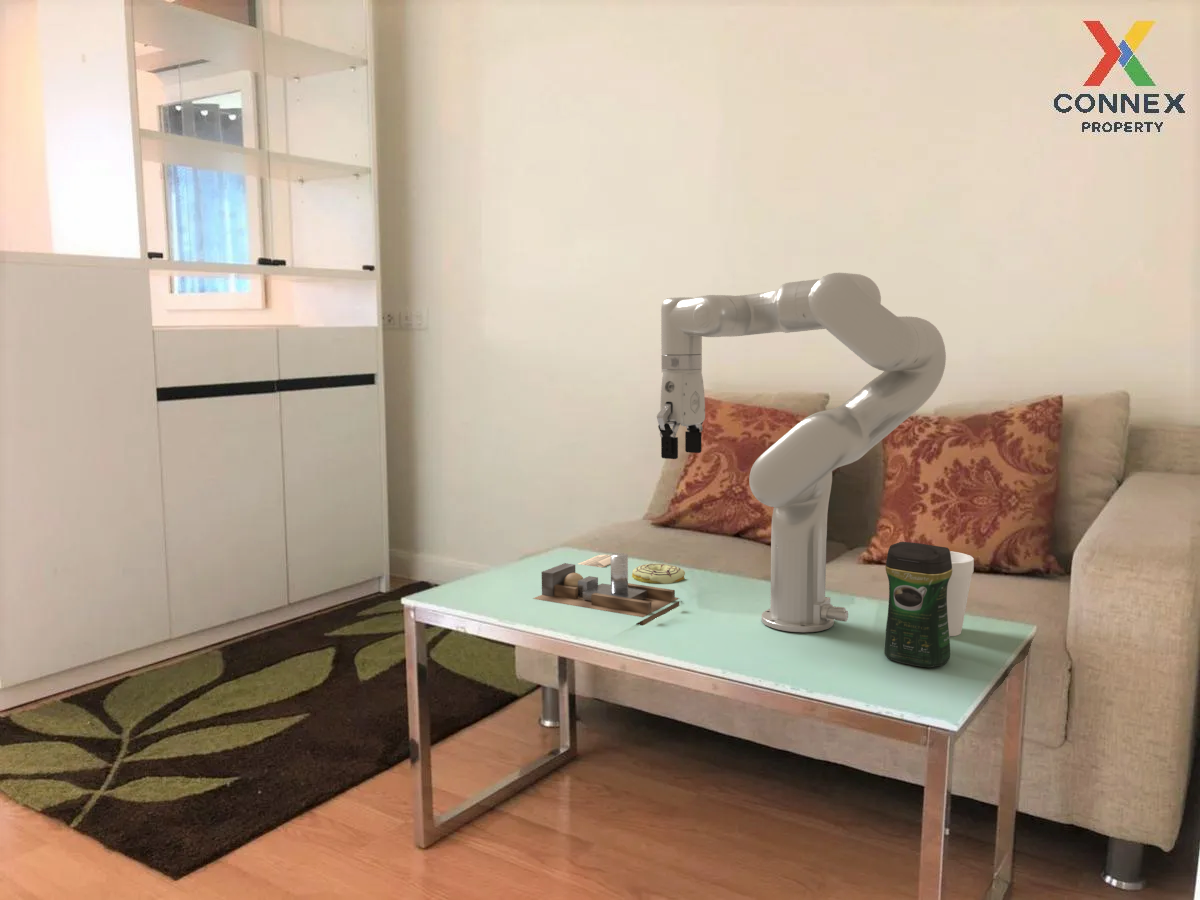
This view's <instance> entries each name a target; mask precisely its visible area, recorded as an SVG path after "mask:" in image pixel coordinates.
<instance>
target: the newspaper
mask: <svg viewBox="0 0 1200 900" xmlns="http://www.w3.org/2000/svg"><path fill="white" fill-rule="evenodd" d="M577 565H581V566H582V565H583V566H589V567H595V568H603V567H604V568H606V567H608V566H611V554H598V555H595V556H593V557H591V558H588V559H586V560H584V561H581V562H579V563H577ZM607 565H608V566H607Z"/></svg>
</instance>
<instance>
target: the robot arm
mask: <svg viewBox="0 0 1200 900" xmlns="http://www.w3.org/2000/svg"><path fill="white" fill-rule="evenodd" d="M881 301H882V297H881V291H880V289H879V287H878V286H877V284H876V282H875V281H873V280H872V279H871V278H870V277H868V276H865V275H862V274H859V273H850V272H848V273H847V272H833V273H828V274H826V275H824V276H822V277H821V278H817V279H815V278H814V279H808V280H800V281H790V282H785V283H783V284H781V285H780V286H779V288H778V289H775V290H771V291H766V292H758V293H752V294H744V295H743V294H741V295H726V294H707V295H706V294H705V295H701V296H695V297H685V296H684V297H681V296H680V297H669V298H665V299H664V300H663V301H662V303H661V306H660V307H661V309H660V312H661V313H660V317H661V319H660V321H661V325H660V326H661V328H660V329H661V334H660V336H661V338H660V339H661V340H660V341H661V343H660V344H661V349H660V351H661V355H660V356H661V357H660V358H661V360H660V361H661V373H662V378H661V387H660V388H661V389H660V410H659V412H658V413H657V414H656V419H657V424H658V426H657V427H658V431H659V437H660V438H661V439H660V440H661V441H660V447H661V449H660V450H661V451H660V452H661V453H660V454H661V455H660V457H661V458H662V459H664V460H665V459H666V460H677V459H678V458H679V437H677V433H678V431H679V428H680V426H681V427H686V430H687V431H684V432H685V437H684V438H685V441H684V443H685V444H684V445H685V446H684V447H685V448H684V449H685V452H686V453H690V454H691V453H692V454H693V453H694V454H700V453H702V432H703V424H704V421H705V420H706V399H705V398H706V397H705V387H704V386H705V385H704V377H703V351H702V350H703V337H705V338H721V337H725V338H726V337H732V338H733V337H743V336H745V337H746V336H751V335H762V334H771V333H772V334H773V333H774V334H775V333H784V334H790V333H799V332H809V331H815V330H816V331H818V330H826V331H827V332H829V333H830V334H831V335H833V336H834V337H835V338H836V339H837V340H838V341H839V342H841V344H842V345H844V346H845V347H846V348H848V349H849V350H850V351H851V352H852V353H853V354H855V355H857V357H859V358H860V360H861V361H863V362H865V363H866V364H868V365H869V366H871V367H872V368H873V369H877V370H878V371H882V372H881V374H879V375H878V376H876V377H874V379H872V380H871V381H868V382H867V384H866V385H864V386H863V387H862V388H861V389H859V391H858V392H857V393H856V394H854V395H853V396H852V397H850V398H849V399H847V401H845V402H843V403H842V404H841V405H839V406H837V407H833V408H831V409H826V410H825V409H824V410H820V411H817V412H815V413H813V414H810V415H809V416H806V417H805V418H803V419H802V420H801V421H799V422H798V423H797V424H795V426H793V427H792V428H790V430H788V431H787V432H786V433H785V434H784V435H782V436H781V437H780V438H778V440H777V441H776V442H774V443H773V444H772V445H771V446H770V447H768V448H767V449H766V450H765V451H764V452H763V453H762V454H760V456H758V457H757V459H755V462H754V463H753V464H752V467H751V469H750V473H749V476H748V477H749V479H748V481H749V482H748V483H749V489H750V491H751V493H752V495H753V496H754V497H755V499H756V500H757V501H758V502H759V503H761V504H763V505H765V506H767V507H771V508H773V510H772V515H771V528H770V529H771V536H770V608H768V609H766V610H764V611H763V612H762V613H761V622H762V623H763V624H764V625H765V626H767V627H769V628H772V629H774V630H779V631H784V632H791V633H814V632H821V631H825V630H828V629H830V628H832V627H833V626H834V624H835V621H839V622H845V623H846V622H847V621H848V619H849V610H846V607H843V606H834V605H833V604H832V603H831V597H829V596H826V583H827V582H826V576H827V575H826V573H827V571H826V569H827V536H828V534H827V533H828V532H827V531H828V513H829V511H828V510H829V502H830V496H831V493H832V491H831V490H832V483H833V471H835V470H837V469H838V468H840V467H843V466H847V465H850V464H852V463H854V462H857V461H859V460H860V459H861V458H862V457H863V456H865V455H866V454H867V453H868V452H870V450H872V448H873V447H875V446H876V445H878V444H879V443H880V442H881V441H882V440H883V439H885V438H886V437H888V436H889V434H890V433H892V432H893V431H894V430H896V429H897V428H898V427H899V426H900V425H901V424H903V423H904V422H905V421H906V420H907V419H908V418H910V417H911V416H912V415H914V414H915V413H916V412H917V411H918V410H919V409H920V408H921V407H922V406H924V404H925V403H926V402H927V401H928V400H929V399H930V398H931V397H932V395H933V394H934V393H935V391H936V390H937V389H938V387H939V384H940V383H941V381H942V378H943V375H944V372H945V369H946V360H947V356H946V354H947V353H946V346H945V342H944V339H943V337H942V334H941V332H940V331H939V330H938V327H936V326H935V325H934V324H933V323H932V322H930V321H929V320H926V319H924V318H921V317H917V316H897V315H896V314H894V313H893V312H892V311H890V310H889V308H886V306H884V305H883V304H881V303H882V302H881Z"/></svg>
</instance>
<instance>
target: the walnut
mask: <svg viewBox="0 0 1200 900" xmlns="http://www.w3.org/2000/svg"><path fill="white" fill-rule="evenodd" d="M583 578H584V577H583V575H581V574H580V573H578V572H575V573H570V574H568V575H567V576H566V577H565V579H564V586H571V587H577V588H578V581H579V580H581V579H583Z"/></svg>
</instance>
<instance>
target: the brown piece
mask: <svg viewBox="0 0 1200 900" xmlns="http://www.w3.org/2000/svg"><path fill="white" fill-rule="evenodd" d="M570 573H576V564H575V563H574V564H572V563H566V562H564V563H561V564H559V565H556V566H554V567H550V568H548V569H546V570H543V571H541V594H540V595H537V596H536V597H533V598H532V599H533V600H536V601H537V600H539V601H543V602H550V603H556V604H563V605H567V606H574V607H580V608H584V609H591V610H597V611H598V610H599V611H604V612H610V613H614V614H615V613H616V614H622V615H628V616H634V617H639V618H644V619H642V620H641V621H638V622H637V623H636V624H635V625H639V624H640V626H644V625H646V624H648V623H651V622H652V621H654V620H656V619H657V617H658V618H659V617H662V615H665V614H667V613H669V612H670V610H671V611H673V610H674V609H676V608H678V607H680V598H679V597H676V596H675V595H676V594H675V593H676V591H675V589H671V588H670V589H669V588H663V587H658V586H657V587H655V586H649V585H643V584H636V583H630V582H628V587H629V588H636V589H642V590H647V598H646V599H644V600H637V599H631V598H624V597H618V596H612V595H605V594H599V593H593V594H591V601H590V600H584V599H583V597H580V596H578V588H577V587H571V586H564V579H565V577H566V576H567V575H568V574H570ZM677 600H679V601H677ZM675 601H676V602H675ZM673 602H675V603H673ZM672 603H673V604H672ZM668 605H669V606H668ZM665 606H667V607H665ZM663 607H665V608H663ZM662 608H663V609H662ZM660 609H661V610H660ZM672 609H673V610H672ZM658 610H659V611H658ZM656 611H658V612H656ZM654 612H656V613H654ZM652 613H653V614H652ZM650 614H652V615H650ZM648 615H650V616H648ZM647 616H648V617H647ZM645 617H646V618H645ZM655 618H656V619H655Z"/></svg>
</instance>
